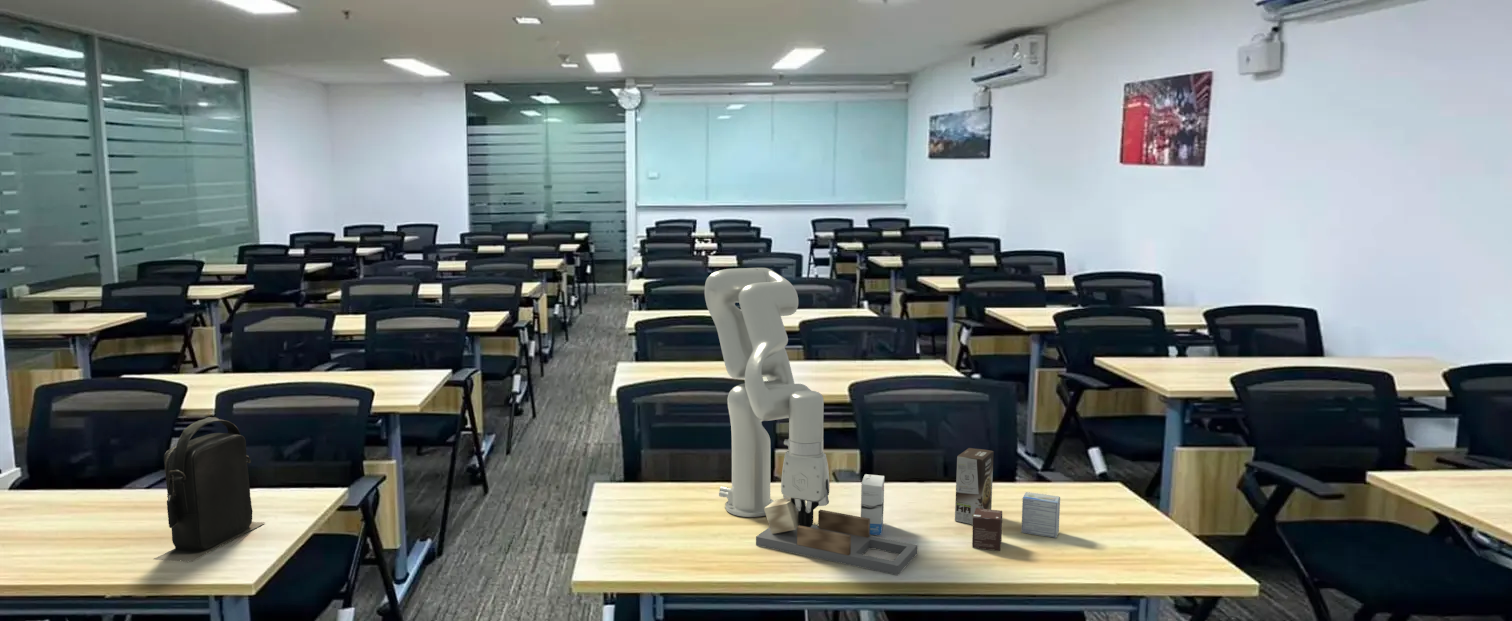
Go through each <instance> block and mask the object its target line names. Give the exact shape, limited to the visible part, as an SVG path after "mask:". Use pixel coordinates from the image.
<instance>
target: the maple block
mask: <svg viewBox="0 0 1512 621" xmlns="http://www.w3.org/2000/svg"><path fill="white" fill-rule="evenodd" d="M764 510H765V514H766V515H765V516H766V519H767V522H768V528H769V527H770V530H771V533H772V534H775V533H780V532H786V531H791V530H795V529H797V527H798V526H799V523H798V511H797V510H796V507H795V505H794V504H793V503H792V502H791V500H790V501H789V500H787V499H785V498H783V497H782V498H779V499H775V500H773V502H772V503H771V504H769V505H768V506H766V507H765V508H764Z"/></svg>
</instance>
